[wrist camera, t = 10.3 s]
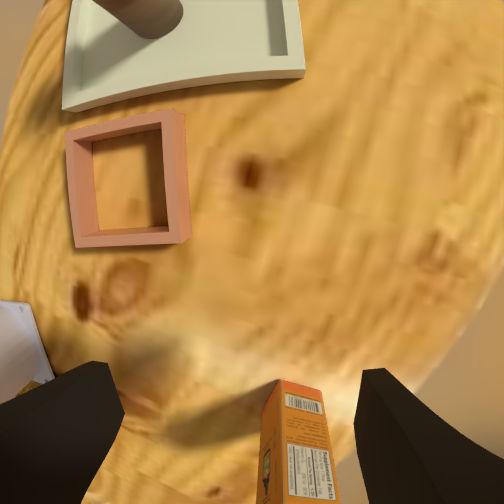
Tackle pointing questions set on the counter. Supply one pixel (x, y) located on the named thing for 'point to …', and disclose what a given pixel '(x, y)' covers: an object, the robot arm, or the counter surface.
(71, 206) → the holder
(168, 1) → the dowel
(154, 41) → the tray
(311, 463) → the supplement box
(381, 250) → the counter surface
